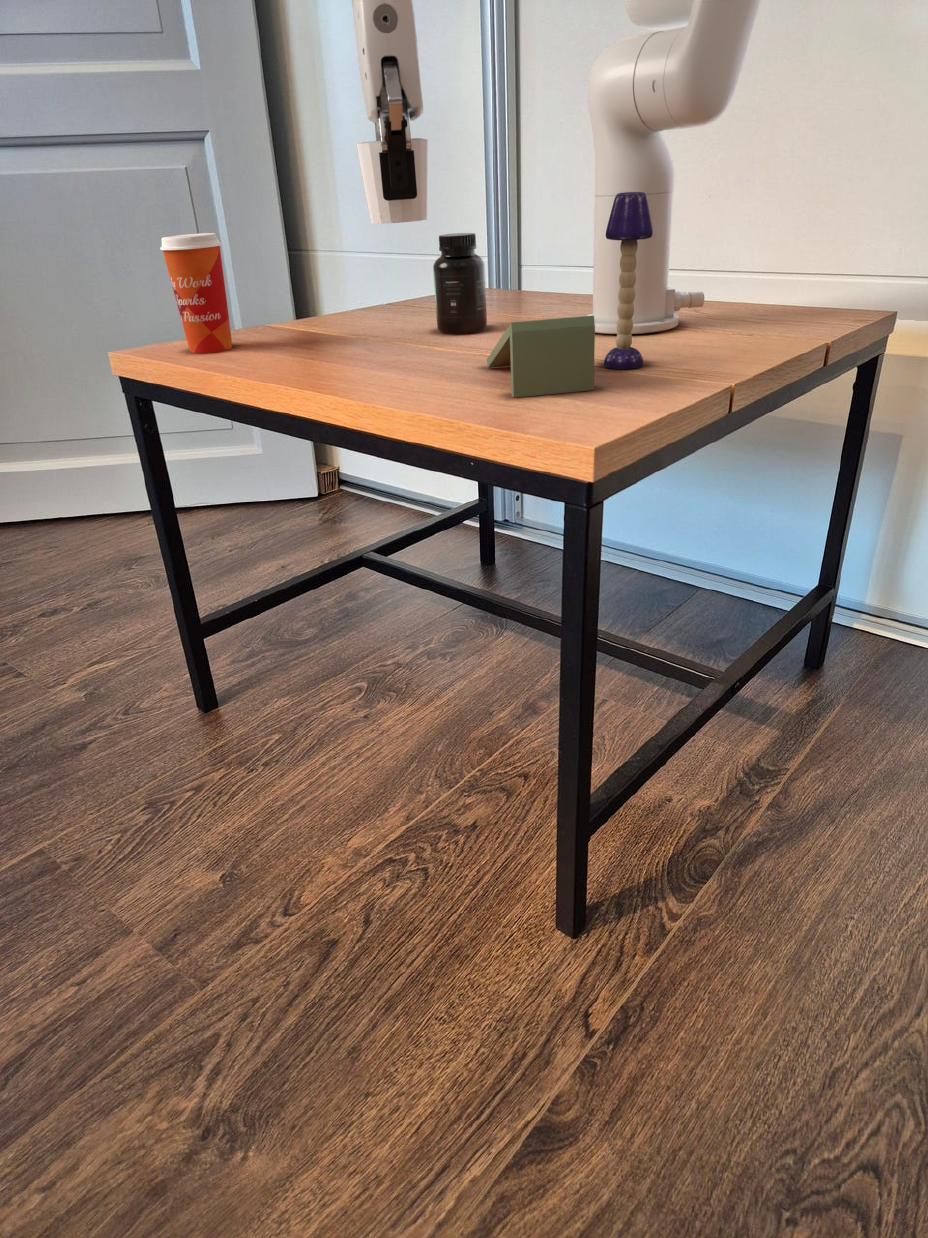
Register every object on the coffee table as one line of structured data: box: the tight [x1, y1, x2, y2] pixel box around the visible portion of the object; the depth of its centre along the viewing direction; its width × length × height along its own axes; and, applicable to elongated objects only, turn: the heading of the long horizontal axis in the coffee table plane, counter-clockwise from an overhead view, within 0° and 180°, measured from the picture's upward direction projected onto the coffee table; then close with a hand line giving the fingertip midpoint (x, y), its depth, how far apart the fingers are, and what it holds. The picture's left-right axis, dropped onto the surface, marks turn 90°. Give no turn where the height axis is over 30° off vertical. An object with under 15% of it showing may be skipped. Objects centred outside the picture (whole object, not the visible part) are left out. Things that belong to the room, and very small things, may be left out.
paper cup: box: [159, 232, 233, 354], centre depth 109 cm, size 8×8×14 cm
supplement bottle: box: [432, 232, 488, 335], centre depth 112 cm, size 7×7×12 cm
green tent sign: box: [486, 315, 596, 399], centre depth 85 cm, size 14×8×7 cm, turn 9°
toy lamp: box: [603, 192, 653, 370], centre depth 86 cm, size 5×5×17 cm
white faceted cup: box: [356, 137, 429, 225], centre depth 82 cm, size 7×7×7 cm
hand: (397, 196), depth 82 cm, fingers closed on white faceted cup, 6 cm apart
